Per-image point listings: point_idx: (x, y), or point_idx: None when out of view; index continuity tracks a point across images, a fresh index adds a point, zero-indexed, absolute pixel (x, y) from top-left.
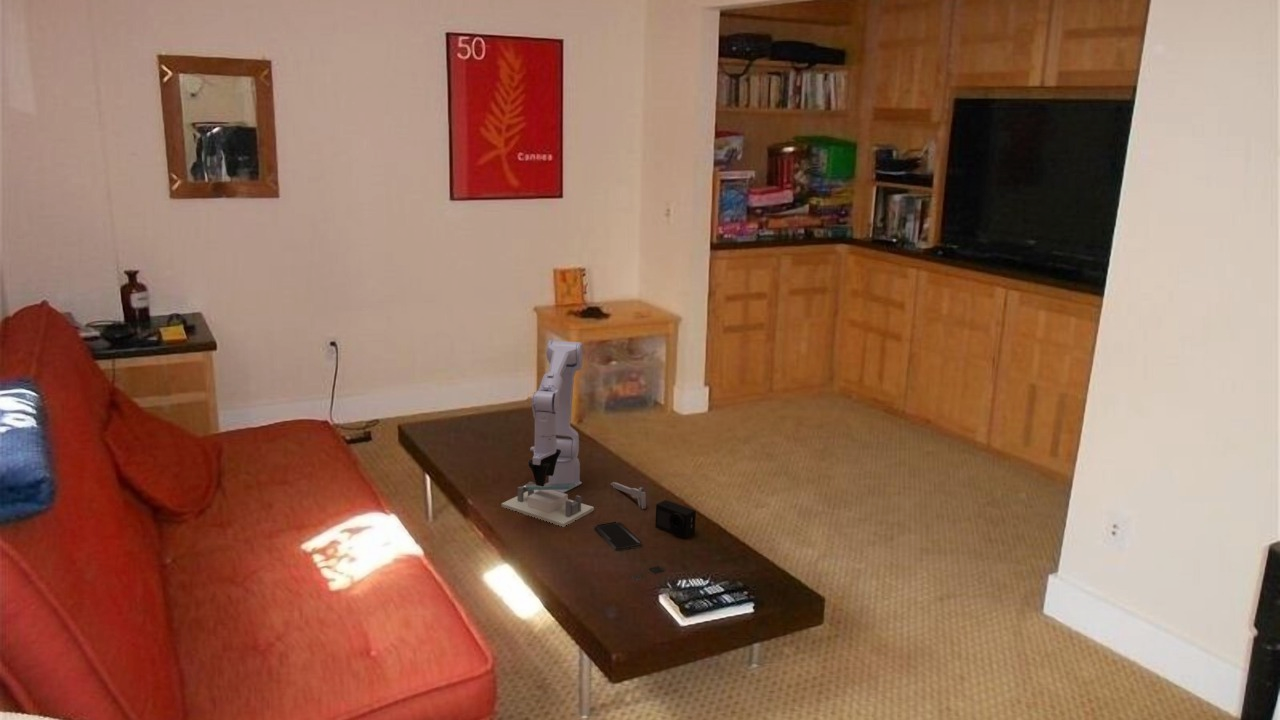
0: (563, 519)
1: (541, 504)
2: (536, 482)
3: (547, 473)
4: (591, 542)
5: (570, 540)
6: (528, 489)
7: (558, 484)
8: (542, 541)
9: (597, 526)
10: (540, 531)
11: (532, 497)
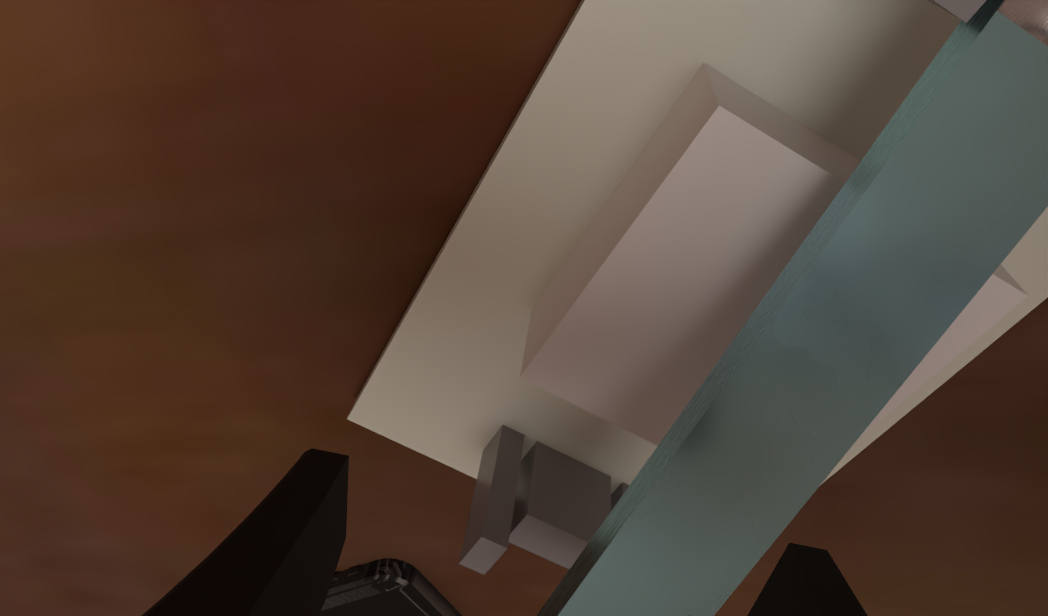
0: (430, 415)
1: (587, 266)
2: (278, 494)
3: (784, 596)
4: (196, 544)
5: (167, 446)
6: (903, 107)
7: (710, 566)
8: (57, 279)
9: (398, 584)
10: (222, 245)
11: (684, 175)
